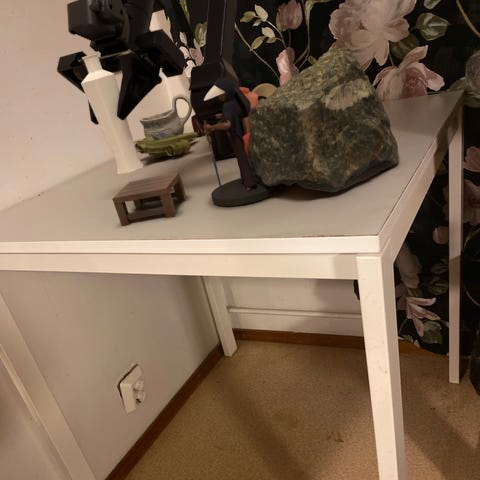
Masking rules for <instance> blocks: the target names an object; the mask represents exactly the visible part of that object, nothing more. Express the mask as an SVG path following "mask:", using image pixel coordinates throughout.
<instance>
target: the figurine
mask: <svg viewBox="0 0 480 480" xmlns="http://www.w3.org/2000/svg"><path fill="white" fill-rule="evenodd" d="M215 96H218V97H219V99H220V100H221V101H225V103H224V104H223V106H222V120H221V121H219V122H218V123H217V124H216V125H213V126H211V125H207V122H206V120H204V129H205V130H204V134H205V136H206V140H207V142H208V147H209V150H210V153H211V154H210V155H211V158H212V163H213V167H214V170H215V174H216V175H215V176H216V178H217V183H218V187H216V188H214V189H213V190H212V191H211V193H210V196H211V200H212V203H213V204H214V205H217V206H221V207H229V206H230V207H233V206H241V205H247V204H251V203H256V202H258V201H262V200H264V199H267V198H269V197H271V196H273V195H275V194H277V193H279V192H280V191H281V190H282V188H283V183H280V184H278V185H276V186H265V185H262V184H260V183H259V182H258V181H256V179H255V177H254V175H253V173H252V171H251V167H250V164H249V161H248V157H247V153H246V151H245V147H244V146H245V143H244V139H243V135H242V131H241V127H240V122H239V117H238V110H237V107H236V104H235V101H234V87H233V83H232V81H231V80H230V79H229V78H225V77H224V78H220V79H218V80H217V81H216V82H215V83H214V86H213V87H212V88H211V89H210V91H209V92H208V93H207V95H206V96H205V98H204V101H206V100H208V99H211V98H213V97H215ZM210 129H211V130H210ZM218 129H222V130H225V131H226V132H227V138H228V140H230V143H231V146H232V148H233V150H234V152H235V155H236V156H235V158H236V162H237V165H238V169H239V174H240V177H239V178H237V179H233V180H230V181H228V182H227V181H226V183H223V184H221V177H220V174H219V170H218V166H217V160H215V156H214V153H213V148H212V143H211V142H212V139H211V137H210V134H211V133H212V132H213V131H216V130H218Z"/></svg>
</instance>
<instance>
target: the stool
mask: <svg viewBox="0 0 480 480" xmlns="http://www.w3.org/2000/svg"><path fill="white" fill-rule="evenodd" d="M172 190H174V191H172ZM174 198H175V199H176V201H177V202H178V203H179V202H184V201H186V200H187V194H186V191H185V186H184V183H183V179H182V176H181V172H179V171H178V172H173V173H172V172H171V173H168V174H163V175H157V176H152V177H147V178H144V179H138V180H131V181H129V182H128V183H127V184H126V185H125V186H124V187H122V189H120V191H118V192H117V194H115V195H114V196H113V197H112V198H111V200H112V202H113V205H114V208H115V211H116V214H117V216H118V219H119V222H120V226H128V225H130V224H131V223H132V220H135V219H141V218H145V217H146V218H147V217H151V216H156V215H163V214H165V217H166V219H167V218H172V217H175V216H176V215H177V211H176V207H175V204H174V201H173V199H174ZM160 201H161V204H162V206H158V207H152V208H147V209H144V208H145V206H146V204H149V203H155V202H160ZM127 202H133V205H134V208H135V210H136V211H130V212H129V210H128V207H127V204H126V203H127ZM140 209H141V210H140Z"/></svg>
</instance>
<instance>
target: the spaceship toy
mask: <svg viewBox="0 0 480 480" xmlns="http://www.w3.org/2000/svg"><path fill="white" fill-rule="evenodd" d="M197 137H198V133H196V132H194V131H192V132H185V133H183V134H179V135H174V136H170V137H166V138H161V139H157V140H154V139H153V138H152V137H149V138H146V137H143V138H140V139H139V140H138V139H137V140H133V142H134V146H135V149H136V153H140V154H142V155H143V154H144V155H145V154H148V155H149V156H153V157H154V158H155V159H156V160H159V159H160V158H163V157H169V156H170V157H172V156H180V155H181V154H186V153H187V152H190V150H191V143H193V142H194V141H196V138H197Z"/></svg>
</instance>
